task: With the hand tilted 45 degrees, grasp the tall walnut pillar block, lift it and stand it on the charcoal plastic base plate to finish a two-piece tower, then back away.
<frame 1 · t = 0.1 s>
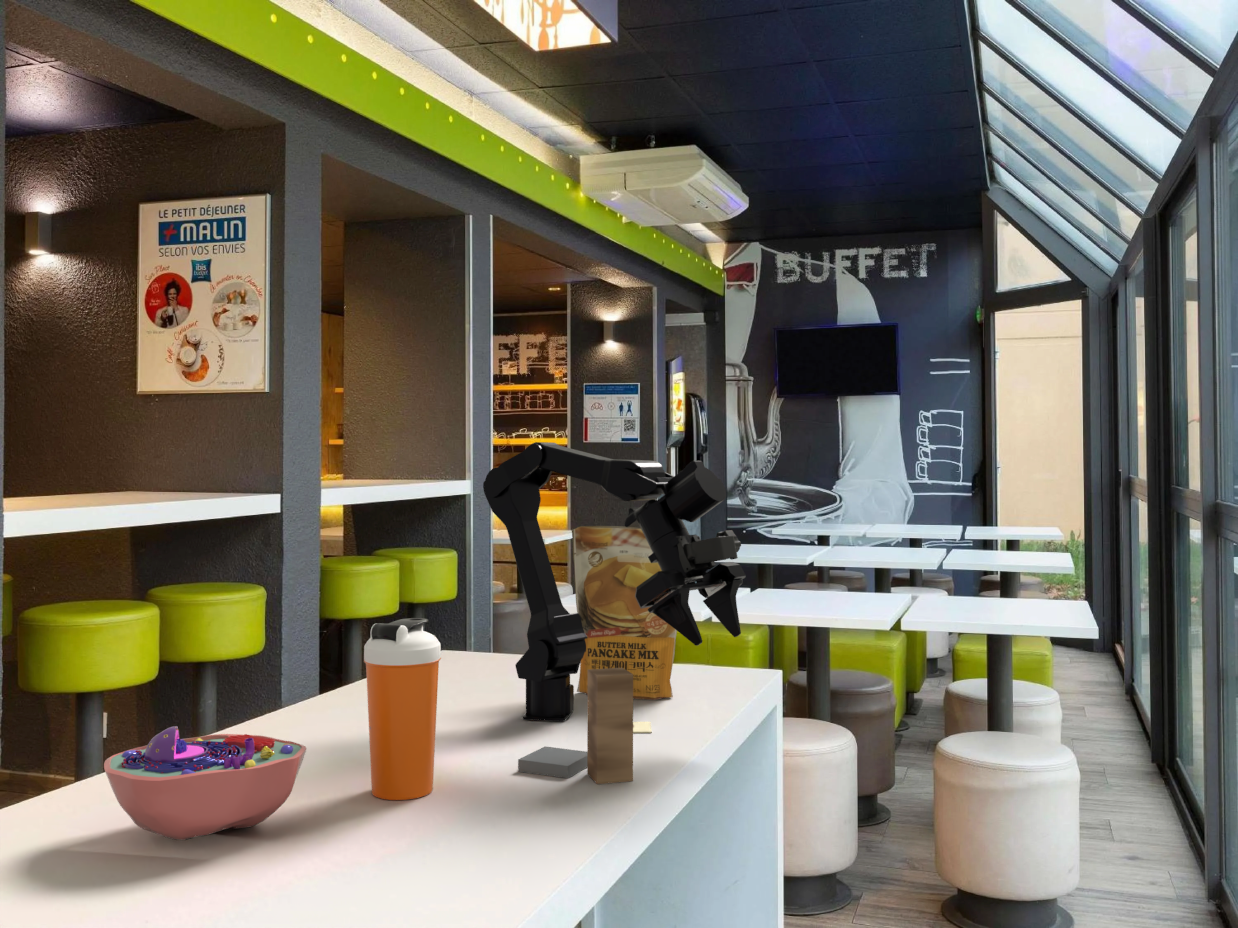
hand: (719, 639, 149), 15 cm above the table, tool tilted 35°, fingers open, 9 cm apart
pancake mix bag: (625, 695, 184), on the table
instruction card: (620, 727, 161), on the table
shaker bottle: (402, 792, 130), on the table
pillar: (609, 777, 136), on the table
base plate: (556, 767, 140), on the table
cell model: (207, 834, 116), on the table
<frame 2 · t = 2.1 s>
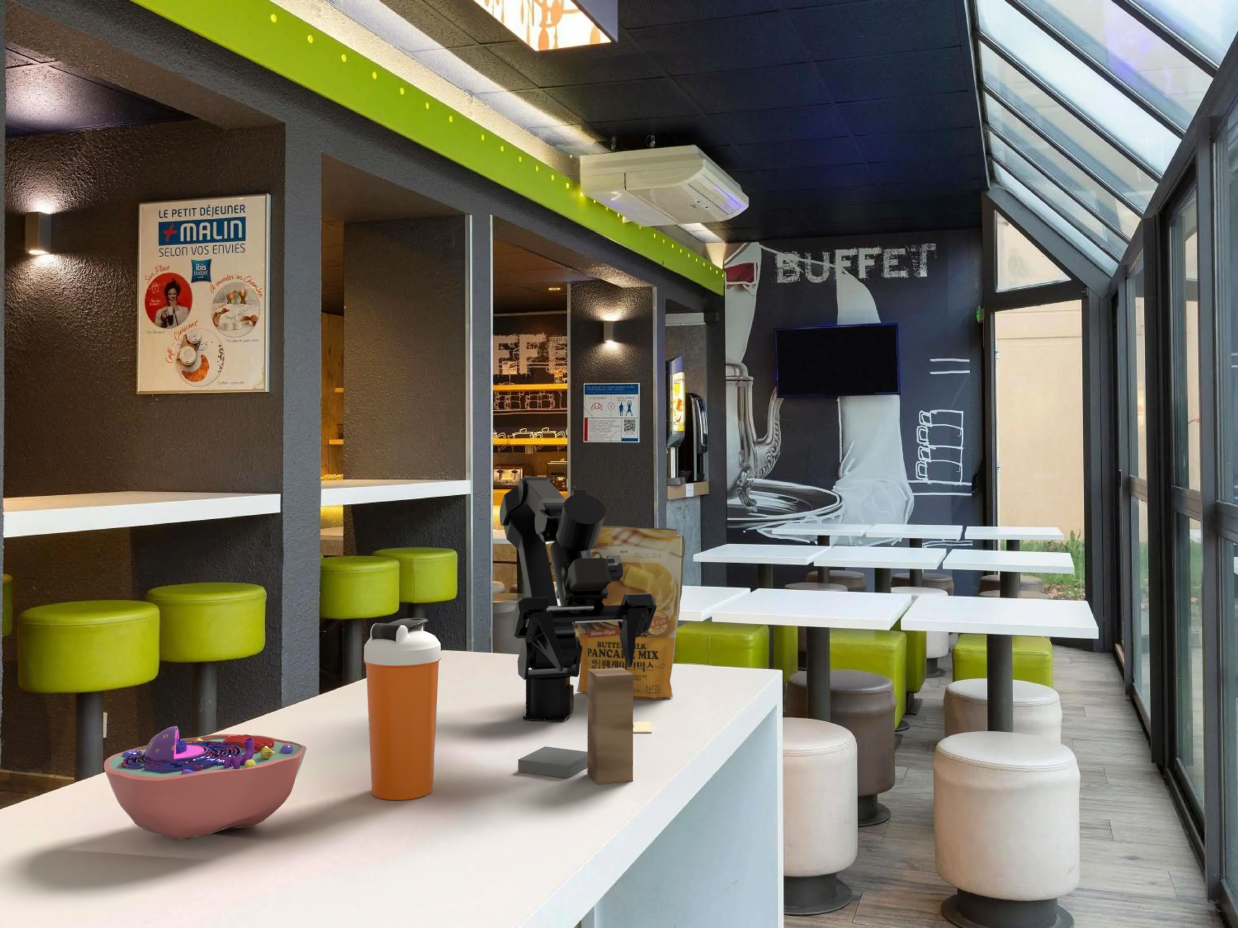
hand: (596, 667, 142), 12 cm above the table, tool tilted 45°, fingers open, 9 cm apart
nothing on the table moved.
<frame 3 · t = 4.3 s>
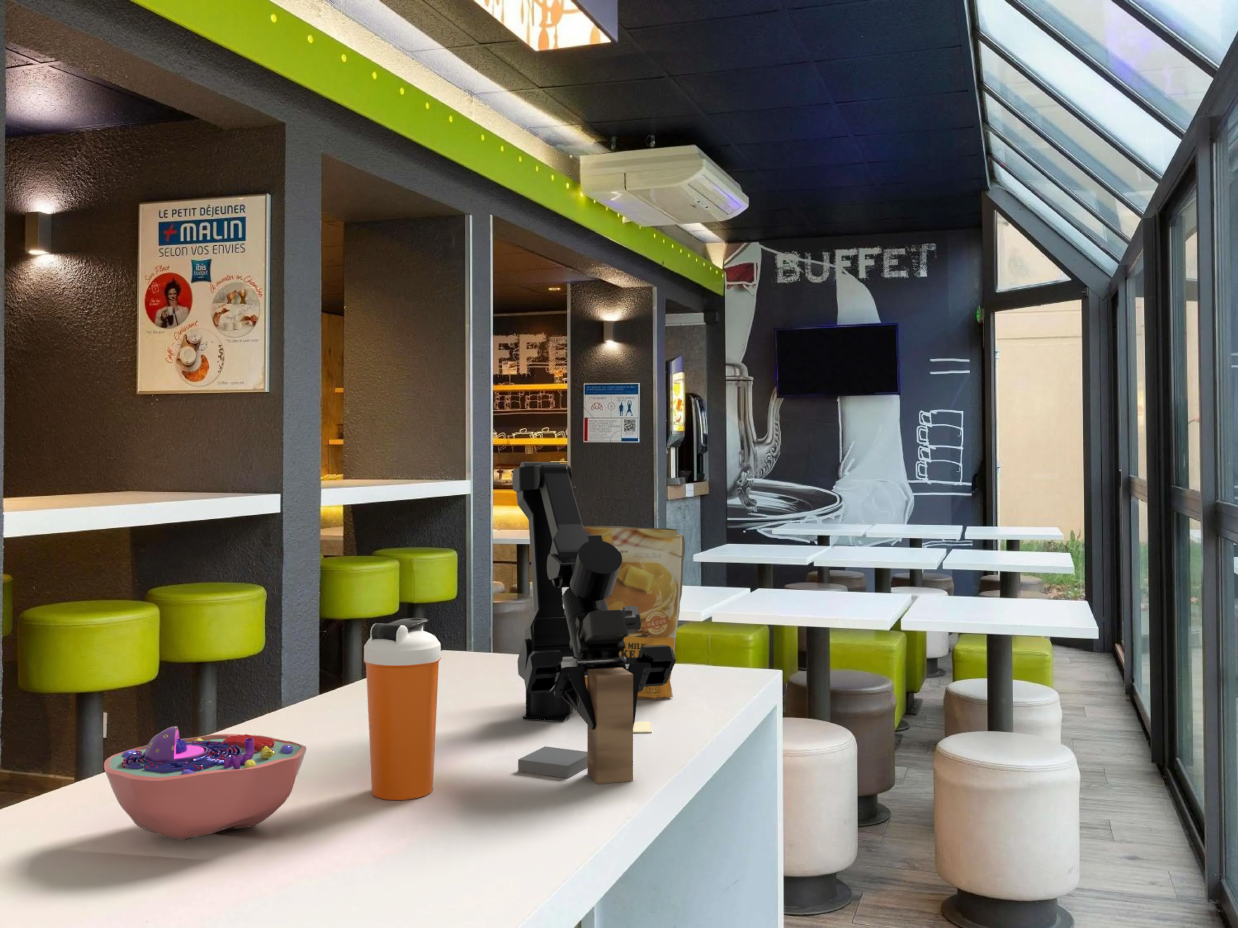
hand: (613, 726, 135), 7 cm above the table, tool tilted 45°, fingers closed on pillar, 4 cm apart
pillar: (610, 777, 136), on the table, touching gripper
everything else where it was.
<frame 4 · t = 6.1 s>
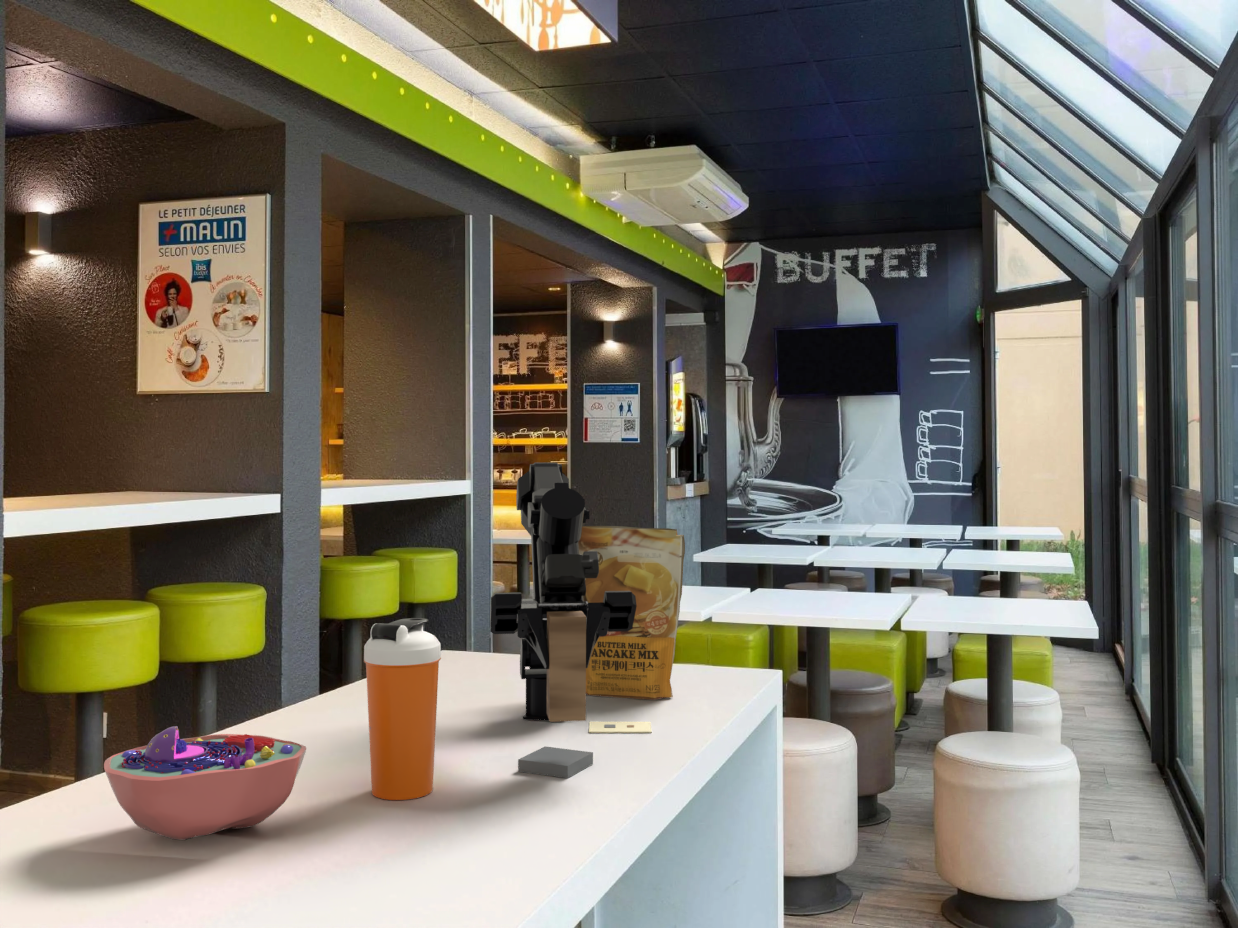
hand: (566, 666, 138), 13 cm above the table, tool tilted 45°, fingers closed on pillar, 4 cm apart
pillar: (565, 716, 140), point 7 cm above the table, touching gripper
everything else where it was.
when the fingers open (9 cm above the table, at t = 7.7 s): pillar stays where it is, resting on base plate.
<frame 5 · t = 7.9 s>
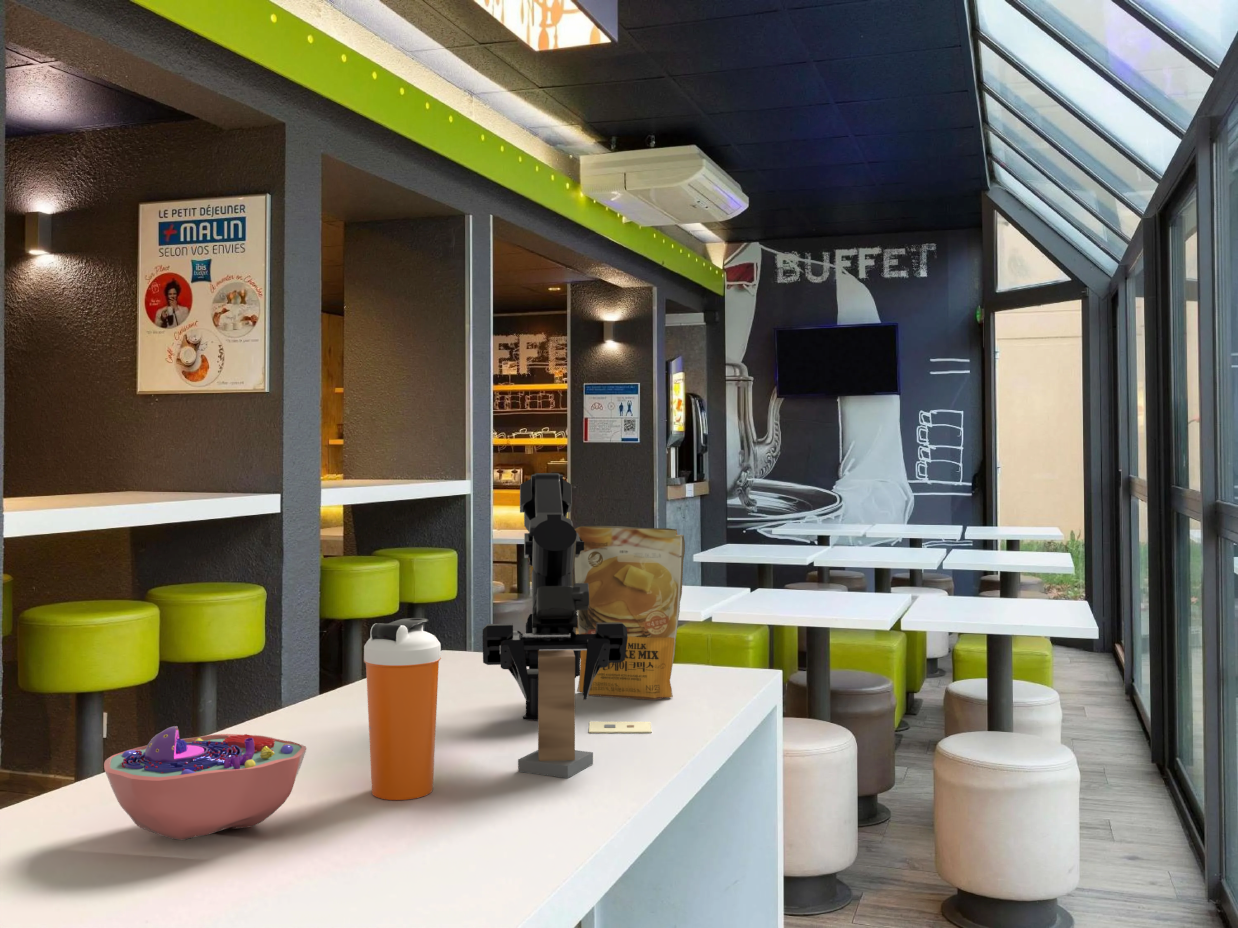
hand: (556, 698, 139), 9 cm above the table, tool tilted 45°, fingers open, 7 cm apart
pillar: (556, 755, 140), point 2 cm above the table, touching base plate
everything else where it was.
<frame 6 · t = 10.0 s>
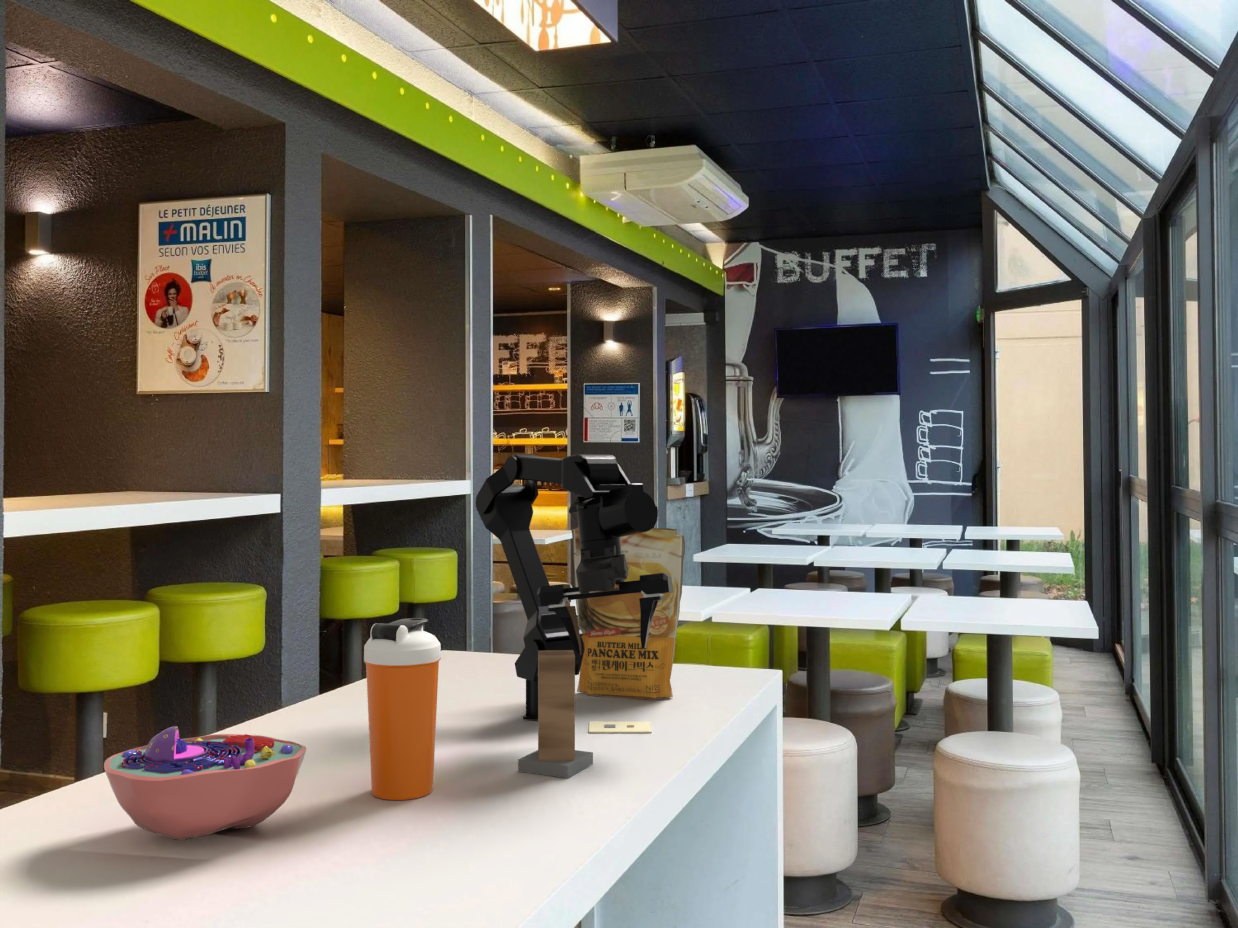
hand: (611, 651, 155), 12 cm above the table, tool pointing down, fingers open, 9 cm apart
nothing on the table moved.
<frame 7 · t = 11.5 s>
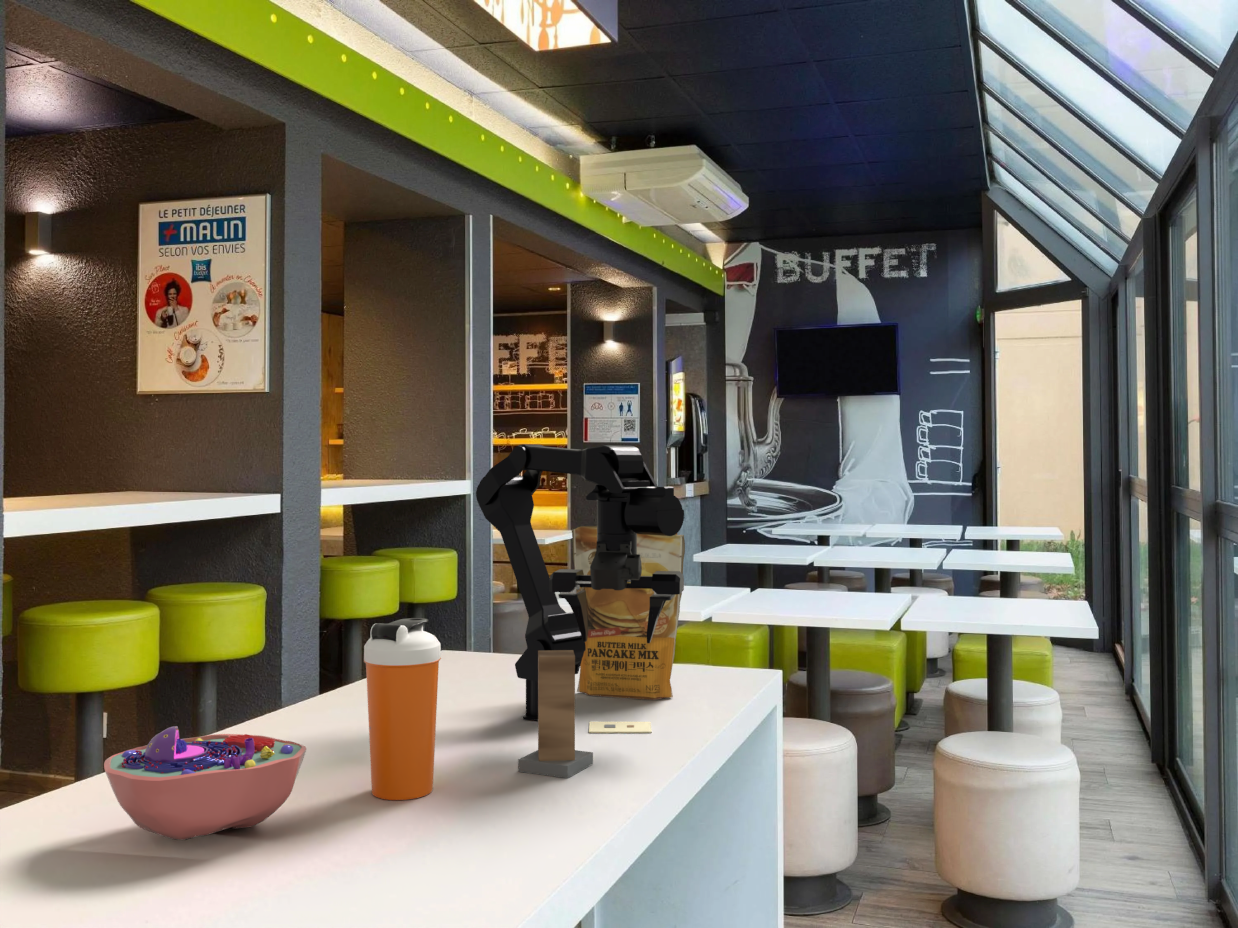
hand: (616, 642, 158), 13 cm above the table, tool pointing down, fingers open, 9 cm apart
nothing on the table moved.
at the end: pillar 0.0 cm off-centre on the base plate, point 1.5 cm above the base plate's base; pillar tilted 0°; the gripper is holding nothing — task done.
